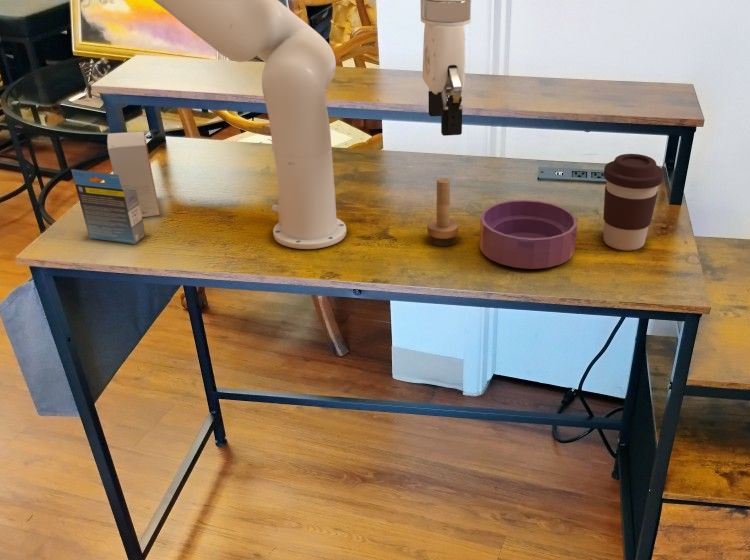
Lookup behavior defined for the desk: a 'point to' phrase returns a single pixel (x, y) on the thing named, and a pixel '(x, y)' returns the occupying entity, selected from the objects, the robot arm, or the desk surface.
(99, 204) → the blue retail box
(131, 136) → the small box
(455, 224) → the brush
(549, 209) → the bowl
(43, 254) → the desk surface
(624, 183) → the coffee cup
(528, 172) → the desk surface
